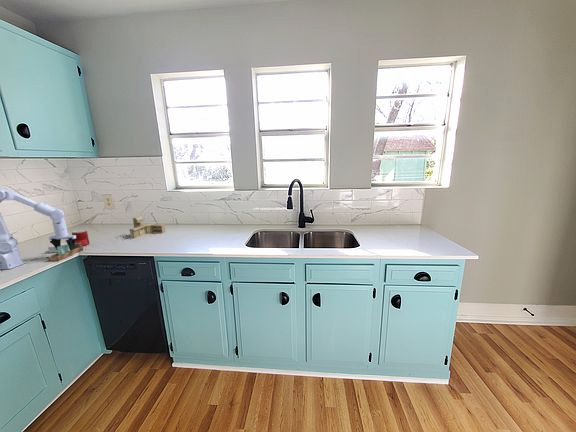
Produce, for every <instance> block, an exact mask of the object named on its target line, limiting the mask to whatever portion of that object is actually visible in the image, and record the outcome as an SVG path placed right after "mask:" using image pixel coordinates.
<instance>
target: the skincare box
mask: <svg viewBox="0 0 576 432" xmlns="http://www.w3.org/2000/svg"><path fill="white" fill-rule="evenodd" d="M66 243H67V242H65V243H61V245H64V244H66ZM47 248H48V249H47V250H48V252H49V253H54V254H55V253H58V251H57V249H56V248H55V246H54V245H53V244H51V245H50V246H48V247H47Z"/></svg>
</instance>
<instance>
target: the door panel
mask: <svg viewBox="0 0 576 432" xmlns="http://www.w3.org/2000/svg"><path fill="white" fill-rule="evenodd" d="M65 243H66V244H65ZM65 243H63V244H64V245H61V246H59V247H57V250H58V252H57V253H58V254H59V255H62V254H64V253H66V252H69V251H71V250H70V249H69V246H68V244H67V242H65Z"/></svg>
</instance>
